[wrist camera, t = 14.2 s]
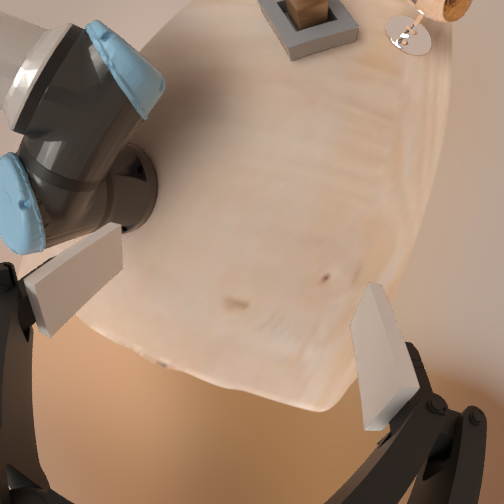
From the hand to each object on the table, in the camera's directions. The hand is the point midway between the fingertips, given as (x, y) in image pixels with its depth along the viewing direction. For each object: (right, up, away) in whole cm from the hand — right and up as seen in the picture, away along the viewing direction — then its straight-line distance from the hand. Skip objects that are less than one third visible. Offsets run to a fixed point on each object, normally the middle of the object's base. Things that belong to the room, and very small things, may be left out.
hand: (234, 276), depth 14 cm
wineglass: (+24, +33, +13) cm, 43 cm away
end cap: (+9, +34, +16) cm, 38 cm away
